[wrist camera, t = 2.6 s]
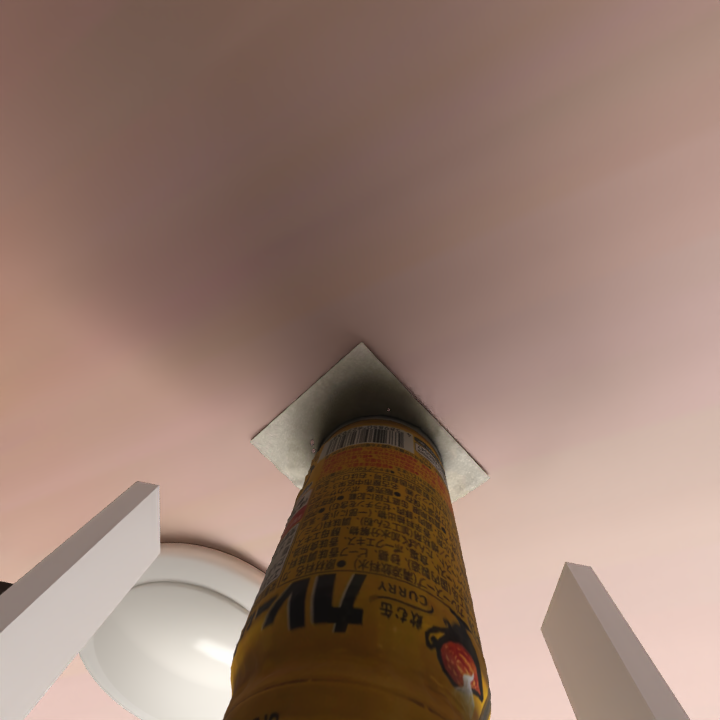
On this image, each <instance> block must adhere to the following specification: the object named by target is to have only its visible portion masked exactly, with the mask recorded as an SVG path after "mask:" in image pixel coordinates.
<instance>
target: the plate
mask: <svg viewBox="0 0 720 720" xmlns="http://www.w3.org/2000/svg"><path fill="white" fill-rule="evenodd" d="M264 577H265V573H263V572H262V571H260V570H259V569H257V568H255V567H254V566H252V565H250V564H249V563H247V562H245V561H243V560H241V559H239V558H237V557H234V556H232V555H229V554H227V553H224V552H221V551H219V550H215V549H211V548H207V547H204V546H199V545H192V544H185V543H160V554H159V555H158V556H157V558H156V559H155V560H154V561H153V563H152V564H151V565H150V566H149V567H148V569H147V570H146V571H145V572H144V573H143V575H142V576H141V577H140V578H139V580H138V581H137V582H136V583H135V584H134V586H133V587H132V588H131V589H130V591H129V592H128V593H127V594H126V595H125V597H124V598H123V599H122V600H121V602H120V603H119V604H118V605H117V606H116V608H115V609H114V610H113V611H112V613H111V614H110V615H109V616H108V617H107V619H106V620H105V621H104V622H103V624H102V625H101V626H100V627H99V628H98V630H97V631H96V632H95V633H94V635H93V636H92V637H91V638H90V639H89V641H88V642H87V643H86V644H85V646H84V647H83V648H82V649H81V650H80V652H79V655H80V657H81V659H82V661H83V663H84V665H85V667H86V669H87V670H88V672H89V673H90V675H91V676H92V677H93V679H94V680H95V681H96V682H97V684H98V685H99V686H100V687H101V688H102V690H103V691H104V692H106V693H107V694H108V695H109V696H110V697H111V698H112V699H113V700H114V701H115V702H116V703H118V704H119V705H120V706H121V707H123V708H124V709H125V710H127V711H128V712H130V713H131V714H133V715H134V716H136V717H138V718H139V719H141V720H223V718H224V714H225V712H226V710H227V707H228V705H229V703H230V700H231V698H232V689H231V679H230V677H231V665H232V660H233V654H234V651H235V648H236V644H237V643H238V641H239V639H240V635H241V631H242V629H243V628H244V626H245V624H246V621H247V618H248V615H249V613H250V610H251V608H252V606H253V604H254V601H255V598H256V596H257V594H258V592H259V589H260V586H261V584H262V582H263V580H264Z"/></svg>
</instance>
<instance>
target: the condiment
mask: <svg viewBox="0 0 720 720" xmlns="http://www.w3.org/2000/svg"><path fill="white" fill-rule="evenodd" d="M388 408H389V409H391V410H390V411H387V409H388ZM312 439H313V441H314V445H313V446H312V445H311V443H310V441H311V440H312ZM250 442H251V443H252V444H253V445H254V446H255V447H256V448H257V449H258V450H259V451H260V452H261V453H262V454H263V455H264V456H265V457H266V458H267V459H269V460H270V461H271V462H272V463H273V464H274V465H275V466H276V468H277V469H278V470H279V471H280V472H281V473H283V474H284V475H286V476H287V477H288V478H289V479H290V480H291V481H292V483H293V484H294V485H295V486H296V487H297V488H299V489H300V492H299V494H298V496H297V498H296V502H295V505H294V508H293V511H292V513H291V516H290V517H289V518H288V522H287V524H286V528H285V530H284V532H283V534H282V536H281V540H280V542H279V544H278V546H277V548H276V551H275V554H274V556H273V557H272V561H271V563H270V565H269V567H268V569H267V571H266V573H265V577H264V580H263V582H262V584H261V586H260V589H259V592H258V594H257V596H256V598H255V601H254V604H253V606H252V608H251V610H250V613H249V615H248V618H247V621H246V624H245V626H244V628H243V629H242V631H241V635H240V639H239V641H238V643H237V644H236V648H235V651H234V654H233V660H232V665H231V677H230V679H231V689H232V698H231V700H230V703H229V705H228V707H227V710H226V712H225V714H224V718H223V720H490V715H491V701H490V699H491V693H490V688H489V680H488V675H487V668H486V664H485V659H484V657H483V652H482V647H481V642H480V637H479V633H478V628H477V623H476V618H475V614H474V609H473V602H472V598H471V594H470V589H469V585H468V580H467V576H466V569H465V565H464V561H463V556H462V551H461V547H460V542H459V536H458V532H457V527H456V523H455V518H454V513H453V508H452V504H451V503H453V502H455V501H457V500H458V499H460V498H461V497H464V496H465V495H467V494H468V493H469V492H471V491H473V490H474V489H476V488H477V487H479V486H480V485H482V484H483V483H484V482H486V481H487V480H489V479H490V477H489V476H488V475H487V474H486V473H485V472H484V471H483V470H482V469H481V468H480V467H479V466H478V464H477V463H476V462H475V461H474V460H473V459H472V458H471V457H470V456H469V455H468V454H467V452H466V451H465V450H464V449H463V448H462V447H461V446H460V445H459V444H458V443H457V442H456V441H455V440H454V438H453V437H452V436H451V435H450V434H449V433H448V432H447V431H446V430H445V429H444V428H443V427H442V426H441V425H440V424H439V423H438V421H437V420H436V419H435V418H434V417H433V416H432V415H431V414H430V413H429V412H428V411H427V410H426V409H425V408H424V407H423V406H422V405H421V404H420V403H419V402H418V401H417V400H416V399H415V398H414V397H413V396H412V395H411V393H410V392H409V391H408V390H407V389H406V388H405V387H404V386H403V385H402V384H401V383H400V382H399V380H398V379H397V378H396V377H395V376H394V375H393V374H392V373H391V372H390V371H389V370H388V369H387V368H386V367H385V366H384V365H383V364H382V363H381V362H380V361H379V360H378V359H377V358H376V357H375V356H374V354H373V353H372V352H371V351H370V350H369V349H368V348H367V347H366V346H365V345H364V344H363V343H362V342H361V343H360V344H359V345H358V346H356V347H355V348H354V349H353V350H352V351H351V352H350V353H349V354H348V355H346V356H345V357H344V358H343V359H342V360H341V361H339V362H338V363H337V364H336V365H335V366H334V367H333V368H332V369H330V370H329V371H328V372H327V373H326V374H325V375H324V376H323V377H321V378H320V379H319V380H318V381H317V382H316V383H315V384H314V385H313V386H311V387H310V388H309V389H308V390H307V391H306V392H305V393H304V394H302V395H301V396H300V397H299V398H298V399H297V400H296V401H295V402H293V403H292V404H291V405H290V406H289V407H288V408H287V409H286V410H285V411H284V412H283V413H281V414H280V415H279V416H278V417H277V418H276V419H275V420H273V421H272V422H271V423H270V424H269V425H268V426H267V427H266V428H265V429H264V430H263V431H261V432H260V433H259V434H258V435H257V436H256V437H255V438H254V439H253V440H251V441H250ZM312 449H315V453H313V452H312Z"/></svg>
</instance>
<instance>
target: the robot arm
mask: <svg viewBox="0 0 720 720" xmlns="http://www.w3.org/2000/svg"><path fill="white" fill-rule="evenodd" d="M159 554H160V494H159V485H155V484H150V483H145V482H139V481H137V482H136V483H134V484H133V485H132V486H131V487H130V488H128V489H127V490H126V491H125V492H124V493H122V494H121V495H120V496H119V497H118V498H116V499H115V500H114V501H113V502H112V503H110V504H109V505H108V506H107V507H106V508H104V509H103V510H102V511H101V512H100V513H98V514H97V515H96V516H95V517H94V518H92V519H91V520H90V521H89V522H88V523H86V524H85V525H84V526H83V527H82V528H80V529H79V530H78V531H77V532H76V533H74V534H73V535H72V536H71V537H70V538H68V539H67V540H66V541H65V542H64V543H62V544H61V545H60V546H59V547H58V548H56V549H55V550H54V551H53V552H52V553H50V554H49V555H48V556H47V557H46V558H44V559H43V560H42V561H41V562H40V563H38V564H37V565H36V566H35V567H34V568H32V569H31V570H30V571H29V572H28V573H26V574H25V575H24V576H23V577H22V578H20V579H19V580H18V581H17V582H16V583H14V584H11V583H6V582H1V581H0V720H24V719H25V718H26V716H27V715H28V714H29V713H30V711H31V710H32V709H33V708H34V707H35V705H36V704H37V703H38V702H39V700H40V699H41V698H42V697H43V696H44V694H45V693H46V692H47V691H48V689H49V688H50V687H51V686H52V685H53V683H54V682H55V681H56V680H57V678H58V677H59V676H60V675H61V674H62V672H63V671H64V670H65V669H66V668H67V666H68V665H69V664H70V663H71V661H72V660H73V659H74V658H75V657H76V655H77V654H78V653H79V652H80V650H81V649H82V648H83V647H84V646H85V644H86V643H87V642H88V641H89V639H90V638H91V637H92V636H93V635H94V633H95V632H96V631H97V630H98V628H99V627H100V626H101V625H102V624H103V622H104V621H105V620H106V619H107V617H108V616H109V615H110V614H111V613H112V611H113V610H114V609H115V608H116V606H117V605H118V604H119V603H120V602H121V600H122V599H123V598H124V597H125V595H126V594H127V593H128V592H129V591H130V589H131V588H132V587H133V586H134V584H135V583H136V582H137V581H138V580H139V578H140V577H141V576H142V575H143V573H144V572H145V571H146V570H147V569H148V567H149V566H150V565H151V564H152V563H153V561H154V560H155V559H156V558H157V556H158V555H159ZM541 631H542V633H543V636H544V638H545V641H546V643H547V646H548V648H549V651H550V653H551V656H552V658H553V661H554V663H555V666H556V668H557V671H558V673H559V676H560V678H561V681H562V683H563V686H564V688H565V691H566V693H567V696H568V698H569V701H570V703H571V706H572V708H573V711H574V713H575V716H576V718H577V720H690V718H689V717H688V715H687V714H686V712H685V711H684V709H683V708H682V706H681V705H680V703H679V702H678V700H677V698H676V697H675V695H674V694H673V692H672V691H671V689H670V688H669V686H668V685H667V683H666V682H665V680H664V678H663V677H662V675H661V674H660V672H659V671H658V669H657V668H656V666H655V665H654V663H653V662H652V660H651V658H650V657H649V655H648V654H647V652H646V651H645V649H644V648H643V646H642V645H641V643H640V642H639V640H638V638H637V637H636V635H635V634H634V632H633V631H632V629H631V628H630V626H629V625H628V623H627V622H626V620H625V618H624V617H623V615H622V614H621V612H620V611H619V609H618V608H617V606H616V605H615V603H614V602H613V600H612V598H611V597H610V595H609V594H608V592H607V591H606V589H605V588H604V586H603V585H602V583H601V582H600V580H599V578H598V577H597V575H596V574H595V572H594V571H593V569H592V568H591V567H590V566H584V565H579V564H574V563H569V562H565V565H564V567H563V570H562V573H561V575H560V578H559V581H558V583H557V586H556V589H555V592H554V594H553V597H552V600H551V602H550V605H549V608H548V611H547V613H546V616H545V619H544V621H543V624H542V627H541Z"/></svg>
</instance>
